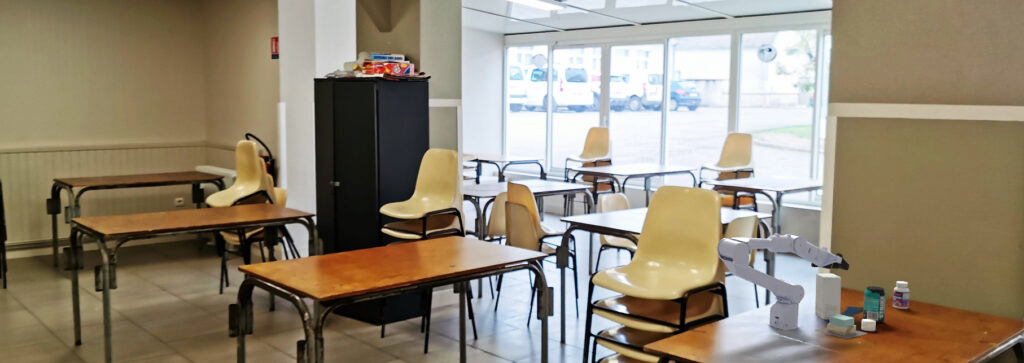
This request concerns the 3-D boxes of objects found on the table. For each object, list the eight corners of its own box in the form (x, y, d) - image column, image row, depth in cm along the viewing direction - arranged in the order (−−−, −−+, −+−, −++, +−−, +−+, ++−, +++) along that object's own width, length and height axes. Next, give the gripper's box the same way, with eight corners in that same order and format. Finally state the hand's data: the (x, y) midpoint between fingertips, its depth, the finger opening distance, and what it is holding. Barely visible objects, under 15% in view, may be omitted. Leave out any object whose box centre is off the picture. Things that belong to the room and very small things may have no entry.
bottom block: (844, 335, 273) (844, 328, 272) (826, 331, 278) (827, 323, 278) (855, 332, 276) (856, 325, 276) (838, 328, 282) (838, 321, 281)
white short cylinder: (870, 333, 278) (871, 323, 278) (858, 330, 282) (859, 320, 281) (877, 331, 281) (878, 321, 280) (865, 328, 284) (866, 318, 284)
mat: (846, 340, 269) (846, 339, 269) (814, 331, 279) (814, 330, 279) (867, 334, 276) (867, 333, 276) (835, 326, 286) (835, 325, 286)
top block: (844, 327, 273) (844, 320, 273) (829, 323, 278) (829, 316, 277) (853, 325, 276) (854, 318, 276) (839, 321, 281) (839, 314, 281)
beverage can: (880, 319, 297) (882, 286, 295) (887, 324, 290) (889, 290, 288) (860, 318, 297) (861, 285, 296) (866, 323, 290) (868, 290, 289)
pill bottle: (889, 306, 316) (891, 281, 315) (900, 305, 318) (902, 280, 317) (900, 309, 311) (901, 284, 310) (911, 308, 313) (913, 283, 312)
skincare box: (840, 320, 293) (842, 277, 292) (821, 320, 293) (823, 277, 292) (831, 314, 302) (833, 272, 300) (813, 314, 302) (815, 272, 300)
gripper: (831, 243, 280) (858, 257, 285) (799, 242, 293) (826, 255, 298) (826, 262, 278) (853, 276, 284) (794, 260, 291) (821, 273, 297)
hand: (839, 267), depth 291 cm, fingers open, 7 cm apart
